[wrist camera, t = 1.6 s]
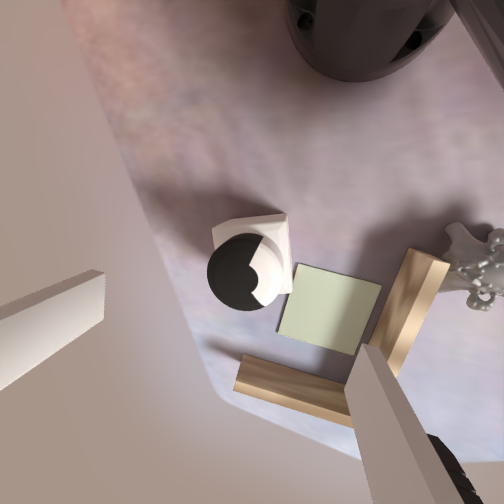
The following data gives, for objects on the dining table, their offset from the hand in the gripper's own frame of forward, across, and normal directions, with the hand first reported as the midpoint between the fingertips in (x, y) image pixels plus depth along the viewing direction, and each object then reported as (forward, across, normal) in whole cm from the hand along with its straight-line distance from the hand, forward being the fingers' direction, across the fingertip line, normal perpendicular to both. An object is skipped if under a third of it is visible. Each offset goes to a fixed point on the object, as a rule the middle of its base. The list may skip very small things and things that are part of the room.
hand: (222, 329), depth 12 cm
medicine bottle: (+19, 0, 0) cm, 19 cm away
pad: (+19, +10, -6) cm, 22 cm away
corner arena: (+19, +8, -6) cm, 21 cm away
